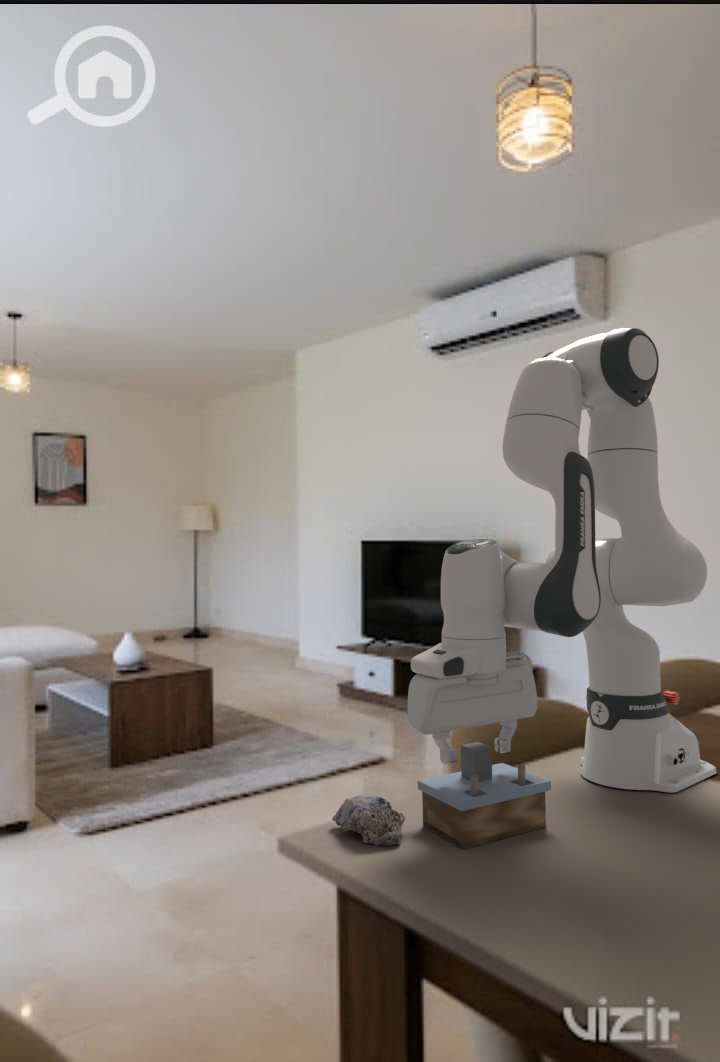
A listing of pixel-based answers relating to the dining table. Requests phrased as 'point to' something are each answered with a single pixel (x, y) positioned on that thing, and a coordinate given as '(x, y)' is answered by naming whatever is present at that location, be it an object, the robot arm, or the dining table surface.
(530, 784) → the grey peg base plate
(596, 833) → the dining table surface
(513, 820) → the wooden box with pegs
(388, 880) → the dining table surface
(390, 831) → the mineral specimen
